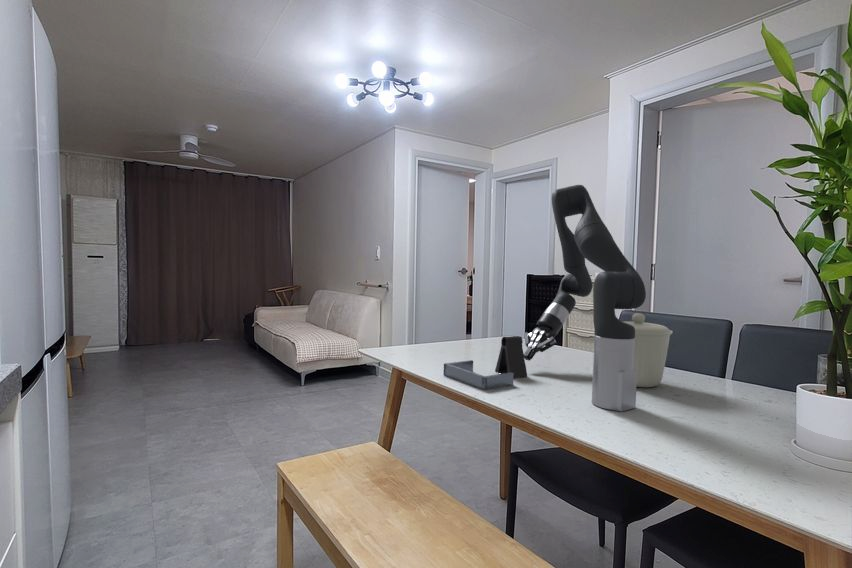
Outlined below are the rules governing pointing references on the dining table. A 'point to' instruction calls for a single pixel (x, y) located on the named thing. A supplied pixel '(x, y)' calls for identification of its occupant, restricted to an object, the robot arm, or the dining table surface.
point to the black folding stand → (511, 357)
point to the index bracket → (476, 376)
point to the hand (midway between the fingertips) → (526, 358)
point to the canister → (649, 350)
